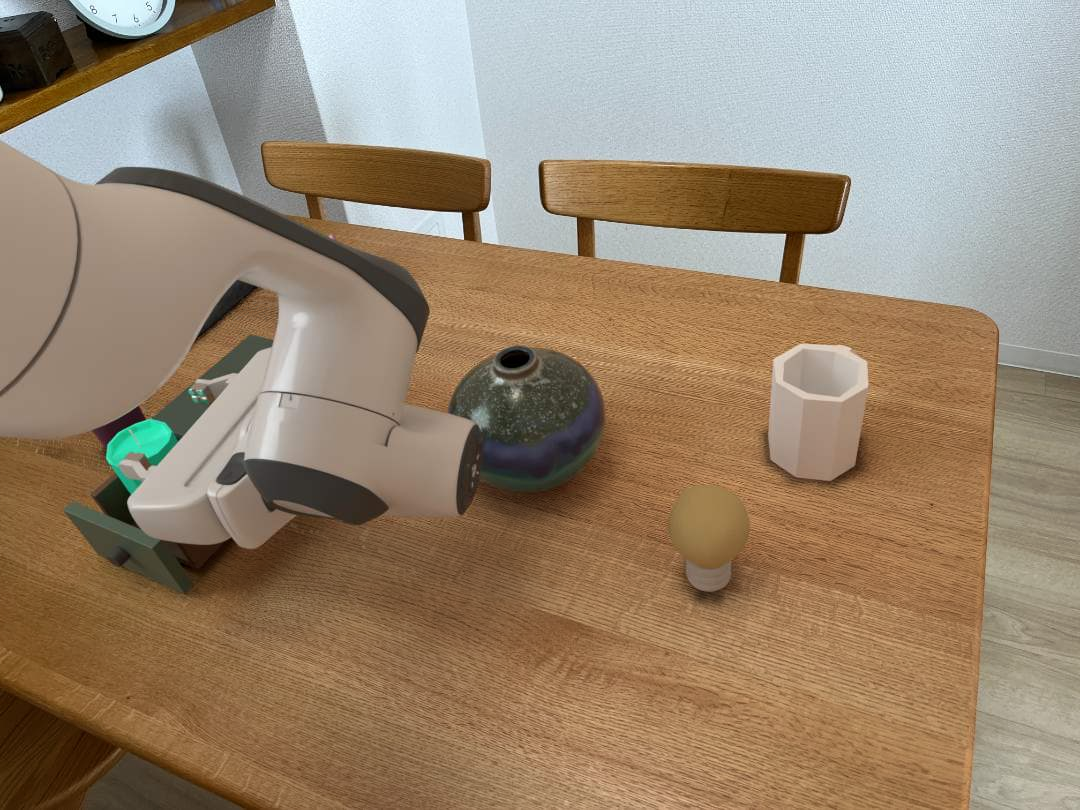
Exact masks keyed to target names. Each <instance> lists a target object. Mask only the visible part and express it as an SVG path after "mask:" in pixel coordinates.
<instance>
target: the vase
mask: <svg viewBox="0 0 1080 810" xmlns="http://www.w3.org/2000/svg"><path fill="white" fill-rule="evenodd" d="M447 413H449V414H453V415H456V416H460V417H463V418H466V419H469V420H471V421H474V422H476V423H477V424H478V426H479V428H480V432H481V434H482V438H483V461H482V467H481V473H480V478H479V481H481V482H483V483H484V484H486V485H488V486H490V487H493V488H495V489H497V490H501V491H503V492H508V493H514V494H532V493H540V492H544V491H549V490H552V489H554V488H557V487H559V486H562V485H564V484H566V483H568V482H569V481H571V480H573V478H575V477H576V476H578V475H579V474H580V473H581V472H582V471H583V470H584V469H585V468H586V467H587V466H588V464H589V463H590V462H591V461H592V460H593V458H594V456H595V455H596V453H597V451H598V450H599V447H600V445H601V443H602V440H603V437H604V432H605V427H606V413H607V411H606V405H605V400H604V395H603V393H602V390H601V387H600V386H599V383H598V382H597V381H596V379H595V377H594V375H593V374H592V373H591V372H590V371H589V370H588V369H587V368H586V367H585V366H584V365H583V364H582V363H580V362H579V361H578V360H576V359H575V358H573V357H572V356H569V355H568V354H565V353H563V352H560V351H557V350H554V349H551V348H547V347H546V348H545V347H533V346H532V347H530V346H526V345H519V344H517V345H511V346H507V347H505V348H503V349H501V350H500V351H498V352H497V353H496V354H493V355H491V356H488V357H487V358H485V359H483V360H481V361H480V362H478V363H477V364H476V365H474V366H473V367H472V368H471V369H470V370H469V371H467V373H465V375H463V377H462V378H461V379H460V380H459V382H458V383H457V385H456V387H455V388H454V390H453V392H452V395H451V397H450V400H449V403H448V407H447Z"/></svg>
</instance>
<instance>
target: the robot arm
mask: <svg viewBox="0 0 1080 810" xmlns="http://www.w3.org/2000/svg"><path fill="white" fill-rule="evenodd" d="M236 280H240V281H243V282H246V283H249V284H252V285H255V287H258V288H260V289H264V290H266V291H270V292H273V293H275V294H276V295H277V300H278V317H277V325H276V329H275V333H274V338H273V340H274V341H273V345H272V347H271V348H267V349H264V350H261V351H259V352H257V353H256V354H255V355H254V357H253V358H252V359H251V360H250V361H249V362H248V363H247V365H246V366H245V367H244V368H243V369H242V370H241V371H240V373H239V374H237V373H232V374H229V375H225V376H222V377H219V378H215V379H212V380H204V379H198V378H197V379H196V380H195V381H196V382H195V381H194V382H195V383H194V382H193V383H194V384H193V385H192V386H191V387H190V388H189V390H188V393H189V394H190V395H191V398H192V400H193V401H194V402H195V403H197V404H202V403H203V404H204V405H210V407H209V408H208V409H207V410H206V411H205V412H204V413H203V414H202V416H201V417H200V418H199V419H198V420H197V421H196V422H195V424H194V425H193V426H192V427H191V428H190V429H189V430H188V431H187V433H186V434H185V435H184V436H183V437H182V438H181V439H180V441H179V442H178V443H177V444H176V445H175V446H174V447H173V448H172V450H171V451H170V452H169V453H168V454H167V455H166V456H165V458H164V459H163V460H162V461H161V462H160V463H159V464H158V465H157V466H153V465H151V463H148V458H147V457H146V455H145V454H142V453H136V454H135V453H134V452H130V453H129V454H128V455H127V456H126V457H125V458H124V459H123V460H122V461H121V462H120V463H119V464H118V467H119V468H120V469H121V471H122V472H123V474H124V475H125V476H126V477H128V478H129V479H135V480H140V481H142V484H141V485H140V486H139V487H138V488H137V489H136V490H135V491H134V492H133V494H132V495H131V496H130V497H129V499H128V501H127V504H128V508H129V511H130V513H131V515H132V517H133V519H134V520H135V522H136V523H137V524H138V526H139V527H140V528H141V529H142V530H143V531H144V532H145V533H146V534H147V535H148V536H150V537H153V538H156V539H160V540H165V541H171V542H178V543H186V544H197V545H211V544H217V543H220V542H223V541H225V540H226V541H227V540H229V539H232V540H233V541H234V542H235V543H236V545H238V546H239V548H243V549H248V550H255V549H257V548H259V547H262V545H263V544H265V543H266V542H267V541H268V540H269V539H270V538H272V536H274V535H275V534H276V533H277V532H278V531H280V530H281V529H282V528H283V527H284V526H286V525H287V524H288V523H289V522H290V521H292V520H293V519H294V518H295V517H297V516H301V517H307V518H308V517H309V518H319V519H328V520H335V521H340V522H343V523H345V524H348V525H352V526H362V525H364V524H366V523H368V522H371V521H372V520H375V519H377V518H378V517H380V516H390V517H397V518H398V517H399V518H408V519H409V518H410V519H431V520H432V519H435V520H436V519H437V520H438V519H439V520H440V519H456V518H461V517H462V516H464V515H465V513H466V512H467V510H468V509H470V507H471V505H472V503H473V501H474V498H475V496H476V493H477V490H478V486H479V482H480V479H479V478H480V473H481V467H482V461H483V438H482V434H481V432H480V428H479V426H478V424H477V423H476V422H474V421H471V420H469V419H466V418H463V417H460V416H456V415H453V414H449V413H448V412H445V411H441V410H438V409H437V410H436V409H433V408H428V407H424V406H423V407H422V406H419V405H412V404H406V399H407V396H408V395H407V394H408V391H409V385H410V382H411V376H412V372H413V368H414V365H415V364H414V363H415V359H416V355H417V353H418V352H419V348H420V345H421V343H422V339H423V336H424V333H425V329H426V326H427V323H428V320H429V317H430V313H431V310H430V309H431V308H430V305H429V303H428V301H427V299H426V297H425V295H424V293H423V291H422V289H421V288H420V286H419V284H418V282H417V281H416V280H415V278H414V277H413V276H412V274H411V273H410V272H409V271H408V269H406V268H405V267H403V266H402V265H400V264H398V263H396V262H393V261H391V260H389V259H386V258H383V257H380V256H378V255H376V254H372V253H370V252H366V251H364V250H362V249H361V250H360V249H357V248H355V247H352V246H350V245H347V244H344V243H342V242H340V241H337V240H336V239H335V240H334V239H331V238H329V236H328V235H325V234H323V233H321V232H319V231H317V230H315V229H313V228H312V227H309V226H308V225H305V224H303V223H301V222H299V221H297V220H295V219H293V218H291V217H289V216H287V215H285V214H284V213H281V212H279V211H277V210H275V209H273V208H271V207H269V206H267V205H264V204H262V203H260V202H259V201H257V200H254V199H252V198H249V197H247V196H245V195H243V194H241V193H238V192H236V191H234V190H232V189H229V188H227V187H224V186H222V185H219V184H217V183H215V182H212V181H209V180H207V179H204V178H201V177H198V176H195V175H192V174H189V173H185V172H181V171H177V170H170V169H165V168H160V167H151V166H150V167H149V166H120V167H116V168H114V169H113V170H112V171H110V172H109V173H108V174H106V175H105V176H104V177H102V178H101V179H100V180H99V181H97V182H96V183H95V184H90V183H84V182H79V181H76V180H73V179H70V178H68V177H67V176H66V177H65V176H64V175H62V174H60V173H57V172H56V171H54V170H52V169H51V168H49V167H47V166H46V165H44V164H42V163H40V162H38V161H37V160H35V159H34V158H32V157H30V156H28V155H26V154H25V153H23V152H21V151H20V150H18V149H17V148H15V147H13V146H12V145H10V144H8V143H6V142H4V141H3V140H1V139H0V437H1V438H12V439H21V440H34V441H35V440H36V441H51V440H52V441H53V440H61V439H66V438H71V437H75V436H78V435H79V436H80V435H82V434H85V433H89V432H92V430H94V429H96V428H99V427H101V426H104V425H106V424H108V423H110V422H112V421H114V420H116V419H118V418H120V417H121V416H123V415H125V414H126V413H128V412H130V411H131V410H133V409H134V408H136V407H137V406H138V405H139V406H140V405H141V404H143V403H144V402H146V401H147V400H148V399H150V398H151V397H152V396H153V395H154V394H155V393H157V391H159V390H160V389H161V388H162V387H163V386H164V385H165V384H166V383H167V382H168V381H169V380H170V379H171V377H172V376H173V375H174V374H175V373H176V372H177V370H178V369H179V367H180V366H181V365H182V363H183V361H185V359H186V358H187V356H188V354H189V352H190V350H191V348H192V346H193V344H194V343H195V341H196V339H197V338H198V336H197V335H198V334H199V332H200V330H201V328H202V327H203V325H204V323H205V321H206V320H207V318H208V317H209V315H210V314H211V312H212V310H213V309H214V307H215V306H216V305H217V303H218V302H219V300H220V299H221V298H222V296H223V295H224V294H225V293H226V291H227V290H228V289H229V288H230V287H231V285H232V284H233V283H234V282H235V281H236ZM196 337H197V338H196ZM214 400H215V401H214ZM213 401H214V402H213ZM226 541H225V542H226Z"/></svg>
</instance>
